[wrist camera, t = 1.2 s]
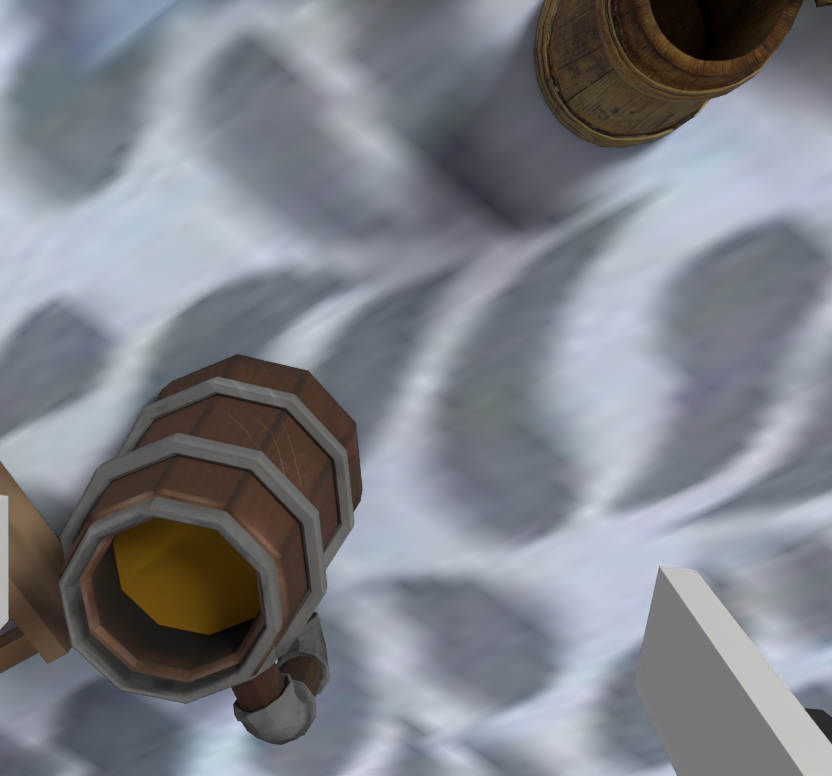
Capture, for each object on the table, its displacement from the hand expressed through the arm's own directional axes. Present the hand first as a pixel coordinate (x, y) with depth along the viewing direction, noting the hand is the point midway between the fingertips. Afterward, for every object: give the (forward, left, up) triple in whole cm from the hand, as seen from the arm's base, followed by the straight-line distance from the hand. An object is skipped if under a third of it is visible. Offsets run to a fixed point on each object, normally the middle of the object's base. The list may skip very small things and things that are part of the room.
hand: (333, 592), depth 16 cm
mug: (+4, -9, -26) cm, 28 cm away
